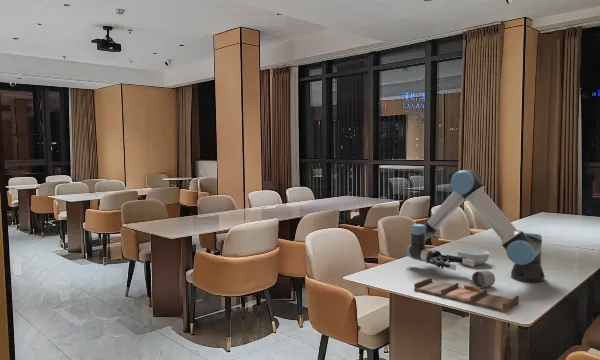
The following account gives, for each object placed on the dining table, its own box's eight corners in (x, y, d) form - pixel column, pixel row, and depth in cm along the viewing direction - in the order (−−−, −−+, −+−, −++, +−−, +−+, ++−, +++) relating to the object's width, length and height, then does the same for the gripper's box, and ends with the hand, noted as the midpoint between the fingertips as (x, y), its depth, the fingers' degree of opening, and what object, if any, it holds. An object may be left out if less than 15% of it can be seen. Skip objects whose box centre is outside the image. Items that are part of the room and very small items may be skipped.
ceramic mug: (496, 287, 212) (496, 271, 212) (484, 289, 208) (485, 273, 208) (477, 282, 222) (477, 266, 221) (466, 284, 218) (466, 268, 217)
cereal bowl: (467, 267, 248) (468, 255, 247) (451, 260, 264) (451, 248, 264) (495, 266, 251) (495, 253, 251) (477, 259, 267) (477, 247, 267)
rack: (519, 303, 190) (519, 295, 190) (504, 312, 179) (505, 304, 179) (431, 283, 219) (431, 276, 219) (414, 290, 208) (414, 283, 208)
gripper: (446, 260, 247) (480, 269, 229) (414, 266, 234) (447, 276, 216) (447, 247, 246) (481, 255, 228) (414, 252, 233) (448, 261, 215)
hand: (464, 265), depth 222 cm, fingers open, 13 cm apart
